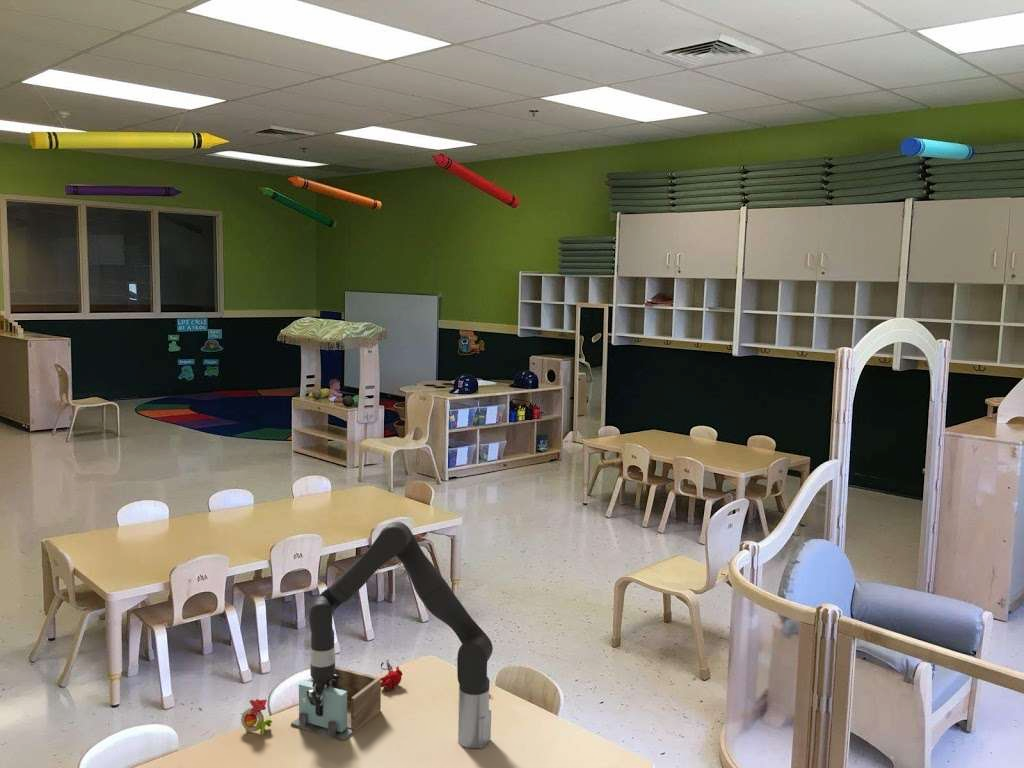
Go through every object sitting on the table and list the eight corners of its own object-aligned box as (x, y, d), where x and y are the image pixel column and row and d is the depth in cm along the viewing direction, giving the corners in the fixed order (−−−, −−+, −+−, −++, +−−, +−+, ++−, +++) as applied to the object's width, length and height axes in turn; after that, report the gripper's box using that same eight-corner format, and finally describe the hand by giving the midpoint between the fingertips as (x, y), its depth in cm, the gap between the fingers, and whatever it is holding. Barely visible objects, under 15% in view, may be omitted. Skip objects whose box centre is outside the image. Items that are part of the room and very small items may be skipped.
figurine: (398, 669, 308) (407, 689, 294) (375, 677, 305) (383, 697, 291) (394, 653, 306) (403, 672, 292) (371, 660, 304) (379, 680, 290)
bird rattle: (244, 744, 262) (271, 734, 261) (230, 711, 261) (256, 702, 260) (252, 733, 269) (278, 723, 268) (237, 701, 268) (263, 692, 267)
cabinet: (380, 710, 280) (380, 678, 279) (343, 741, 261) (343, 706, 260) (329, 696, 288) (329, 665, 287) (290, 725, 270) (290, 692, 268)
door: (347, 727, 266) (347, 691, 265) (339, 734, 262) (339, 697, 261) (305, 715, 273) (304, 680, 271) (296, 721, 269) (296, 685, 267)
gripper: (318, 672, 257) (319, 726, 260) (346, 653, 270) (346, 705, 272) (298, 667, 260) (299, 720, 263) (326, 649, 273) (326, 700, 275)
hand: (323, 712), depth 268 cm, fingers closed on door, 3 cm apart
